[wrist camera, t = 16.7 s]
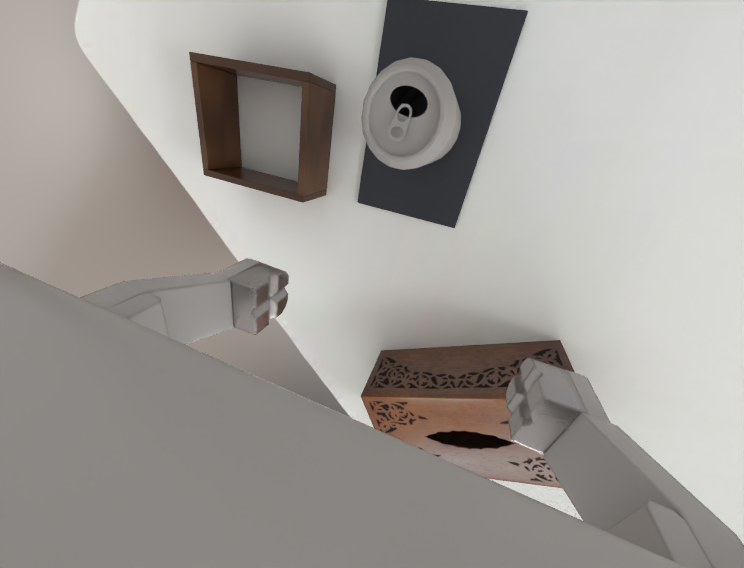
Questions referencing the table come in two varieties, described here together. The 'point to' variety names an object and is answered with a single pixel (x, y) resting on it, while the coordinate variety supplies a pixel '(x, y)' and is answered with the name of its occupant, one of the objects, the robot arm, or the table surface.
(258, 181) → the crate
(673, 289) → the table surface
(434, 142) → the can
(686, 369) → the table surface
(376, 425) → the tissue box cover
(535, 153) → the table surface
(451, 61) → the mat
